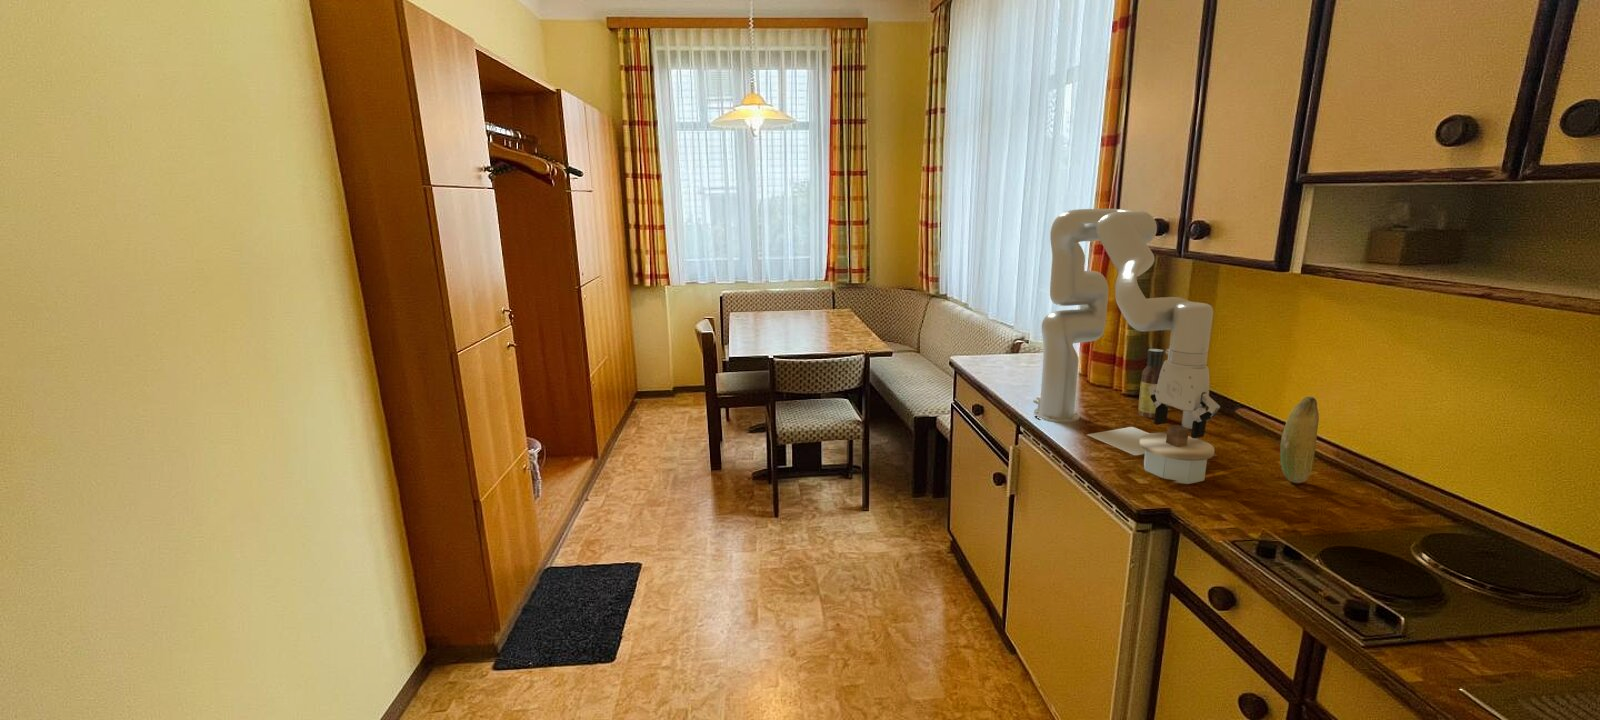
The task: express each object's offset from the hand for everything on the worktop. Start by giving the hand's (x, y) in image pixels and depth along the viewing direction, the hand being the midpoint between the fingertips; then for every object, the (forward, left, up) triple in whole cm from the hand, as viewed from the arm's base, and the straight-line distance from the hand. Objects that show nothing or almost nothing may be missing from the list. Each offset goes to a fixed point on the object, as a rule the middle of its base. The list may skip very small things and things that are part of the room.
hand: (1178, 430), depth 148 cm
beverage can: (-20, +30, -11) cm, 38 cm away
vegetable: (+14, +19, -10) cm, 26 cm away
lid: (0, 0, -4) cm, 4 cm away
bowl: (0, 0, -10) cm, 10 cm away
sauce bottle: (-32, +28, -11) cm, 44 cm away
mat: (-18, +7, -10) cm, 22 cm away
